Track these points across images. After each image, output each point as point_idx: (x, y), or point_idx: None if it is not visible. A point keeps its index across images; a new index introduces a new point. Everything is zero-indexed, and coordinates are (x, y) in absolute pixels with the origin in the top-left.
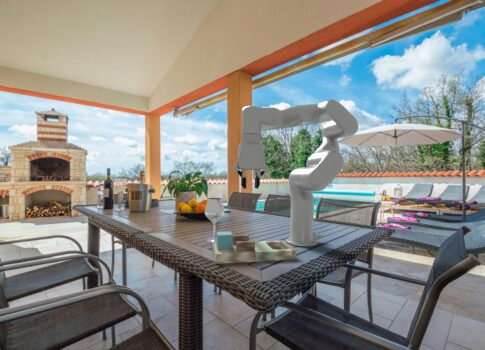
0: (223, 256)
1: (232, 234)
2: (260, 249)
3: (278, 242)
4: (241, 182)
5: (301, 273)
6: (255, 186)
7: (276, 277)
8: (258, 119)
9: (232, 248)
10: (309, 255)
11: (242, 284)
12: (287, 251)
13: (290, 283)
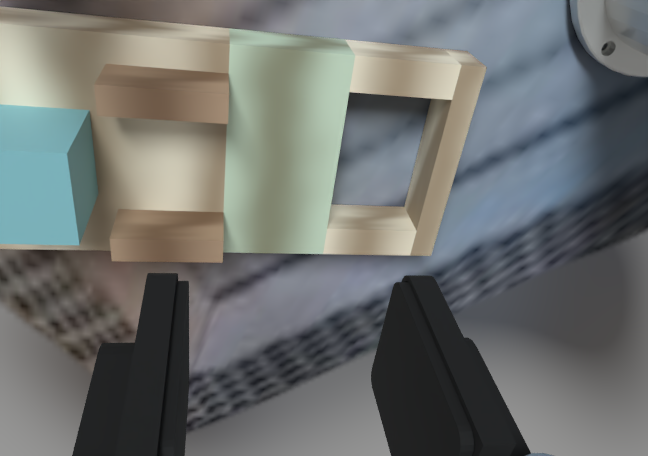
0: None
1: (76, 238)
2: (261, 215)
3: (439, 96)
4: (89, 398)
5: (346, 343)
6: (389, 347)
7: (247, 357)
8: None
9: (95, 197)
10: (513, 196)
11: None
12: (385, 253)
13: (271, 391)
